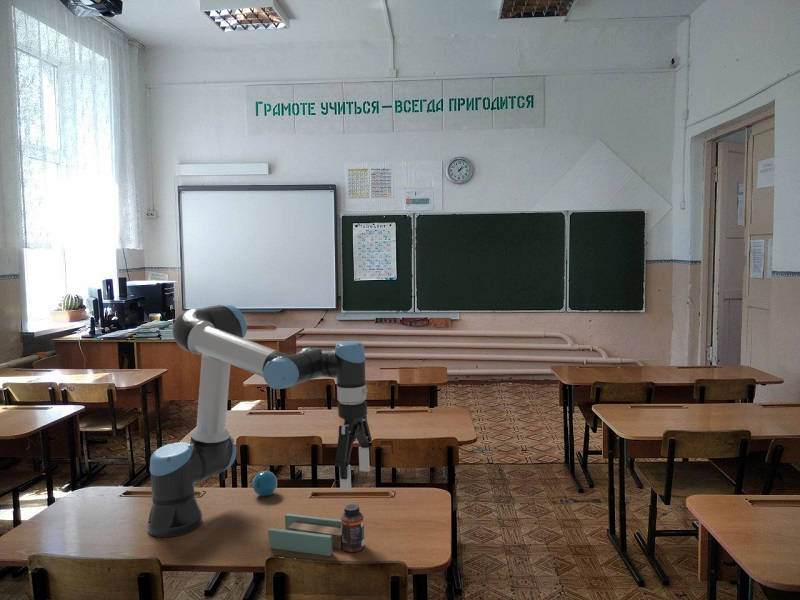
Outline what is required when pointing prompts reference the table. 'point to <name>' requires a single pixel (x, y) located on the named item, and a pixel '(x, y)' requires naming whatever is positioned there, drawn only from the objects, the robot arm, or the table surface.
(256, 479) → the ball
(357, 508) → the supplement bottle
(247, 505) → the table surface
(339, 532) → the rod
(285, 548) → the channel
